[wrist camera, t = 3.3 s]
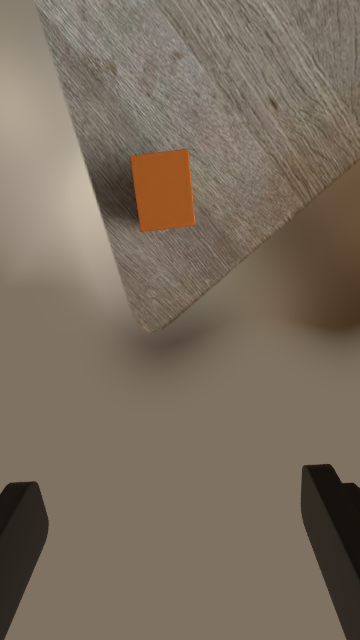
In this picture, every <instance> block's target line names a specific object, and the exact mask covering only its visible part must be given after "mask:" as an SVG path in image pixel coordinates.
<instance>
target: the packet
mask: <svg viewBox="0 0 360 640" xmlns="http://www.w3.org/2000/svg"><path fill="white" fill-rule="evenodd" d="M130 160H131V167H132V174H133V182H134V189H135V196H136V203H137V210H138V217H139V224H140V231H141V232H142V231H151V230H160V229H169V228H178V227H187V226H195V216H194V205H193V194H192V183H191V172H190V161H189V150H188V149H183V150H175V151H167V152H159V153H151V154H143V155H135V156H130Z"/></svg>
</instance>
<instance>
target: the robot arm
mask: <svg viewBox="0 0 360 640" xmlns="http://www.w3.org/2000/svg"><path fill="white" fill-rule="evenodd" d="M301 513H302V518H303V523H304V526H305V529H306V532H307V535H308V537H309V540H310V542H311V545H312V548H313V551H314V553H315V556H316V559H317V561H318V564H319V567H320V569H321V572H322V575H323V578H324V580H325V583H326V586H327V588H328V591H329V594H330V596H331V599H332V602H333V605H334V607H335V610H336V613H337V615H338V618H339V621H340V623H341V626H342V629H343V631H344V634H345V637H346V639H347V640H360V488H359V487H357V485H355V484H354V483H342V482H341V481H340V479H339V477H338V475H337V474H336V472H335V470H334V468H333V467H332V466H331V465H330V464H322V465H321V464H320V465H304V466H303V468H302V485H301ZM48 523H49V522H48V516H47V513H46V509H45V506H44V502H43V499H42V495H41V492H40V488H39V485H38V483H37V482H34V481H33V482H16V483H9V484H8V485H7V486H6V487H5V488H4V490H3V491H2V493H1V494H0V640H4V639H5V636H6V634H7V632H8V629H9V627H10V625H11V622H12V620H13V617H14V615H15V613H16V610H17V608H18V606H19V603H20V601H21V599H22V596H23V594H24V591H25V589H26V587H27V584H28V582H29V580H30V577H31V575H32V573H33V570H34V568H35V565H36V563H37V561H38V558H39V556H40V554H41V551H42V549H43V546H44V544H45V542H46V538H47V534H48V525H49V524H48Z"/></svg>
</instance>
